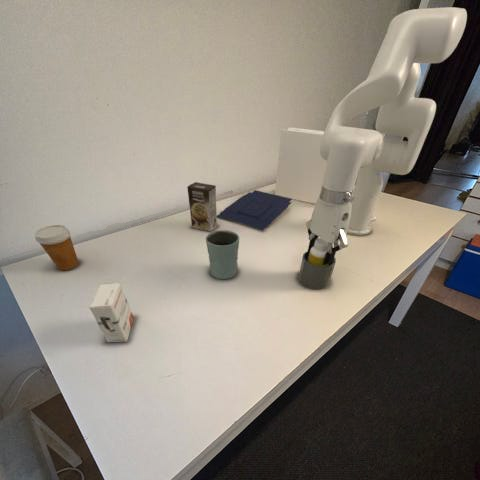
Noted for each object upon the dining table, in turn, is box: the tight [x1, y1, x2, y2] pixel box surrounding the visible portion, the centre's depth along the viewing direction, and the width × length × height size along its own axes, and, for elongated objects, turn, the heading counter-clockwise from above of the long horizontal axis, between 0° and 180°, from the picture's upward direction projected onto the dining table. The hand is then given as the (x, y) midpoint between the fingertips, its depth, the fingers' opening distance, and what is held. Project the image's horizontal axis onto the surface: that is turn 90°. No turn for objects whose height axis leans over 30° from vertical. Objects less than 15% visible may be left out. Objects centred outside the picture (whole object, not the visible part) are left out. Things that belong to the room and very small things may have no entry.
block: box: [274, 126, 327, 205], centre depth 124 cm, size 35×8×28 cm, turn 57°
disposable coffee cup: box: [34, 224, 80, 271], centre depth 83 cm, size 10×10×12 cm
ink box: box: [89, 282, 134, 343], centre depth 63 cm, size 9×5×12 cm, turn 5°
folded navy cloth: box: [217, 189, 293, 232], centre depth 119 cm, size 24×30×4 cm
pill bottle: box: [308, 237, 329, 266], centre depth 78 cm, size 6×6×11 cm
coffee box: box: [187, 181, 218, 233], centre depth 104 cm, size 9×6×16 cm
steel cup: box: [298, 250, 337, 290], centre depth 81 cm, size 10×10×8 cm
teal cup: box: [205, 229, 240, 280], centre depth 82 cm, size 10×10×12 cm
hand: (319, 257), depth 78 cm, fingers closed on pill bottle, 6 cm apart
